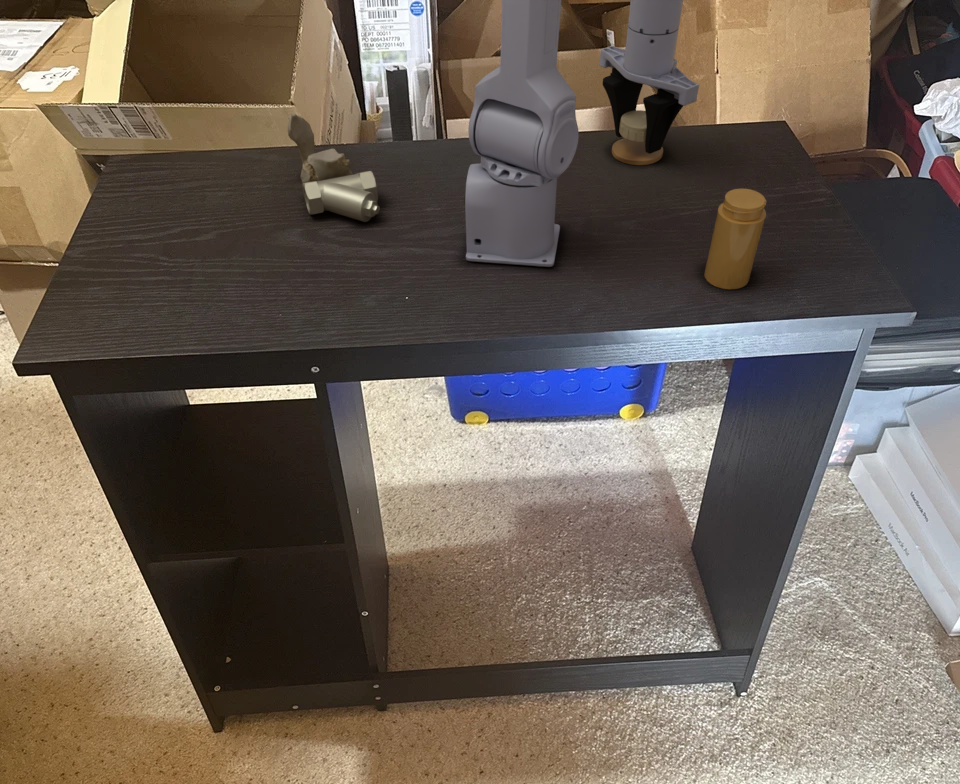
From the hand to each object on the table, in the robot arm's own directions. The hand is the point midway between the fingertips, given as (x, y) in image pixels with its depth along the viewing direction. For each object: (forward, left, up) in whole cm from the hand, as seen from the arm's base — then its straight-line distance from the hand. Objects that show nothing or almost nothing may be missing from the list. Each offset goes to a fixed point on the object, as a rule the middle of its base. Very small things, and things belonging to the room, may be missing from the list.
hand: (638, 142), depth 104 cm
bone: (-37, -13, -2) cm, 39 cm away
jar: (+10, -26, -1) cm, 28 cm away
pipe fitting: (-33, -19, -2) cm, 38 cm away
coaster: (0, 0, -1) cm, 1 cm away
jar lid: (0, 0, +2) cm, 2 cm away
